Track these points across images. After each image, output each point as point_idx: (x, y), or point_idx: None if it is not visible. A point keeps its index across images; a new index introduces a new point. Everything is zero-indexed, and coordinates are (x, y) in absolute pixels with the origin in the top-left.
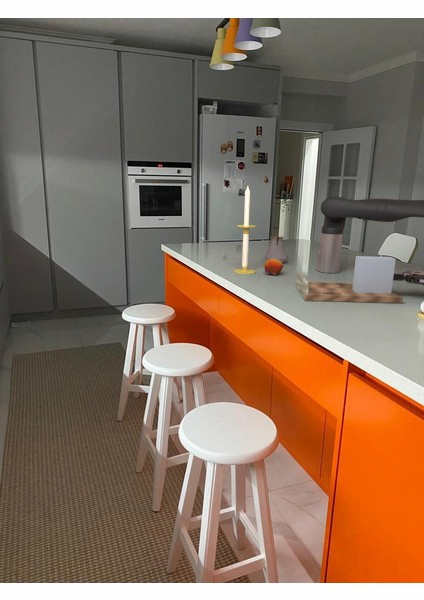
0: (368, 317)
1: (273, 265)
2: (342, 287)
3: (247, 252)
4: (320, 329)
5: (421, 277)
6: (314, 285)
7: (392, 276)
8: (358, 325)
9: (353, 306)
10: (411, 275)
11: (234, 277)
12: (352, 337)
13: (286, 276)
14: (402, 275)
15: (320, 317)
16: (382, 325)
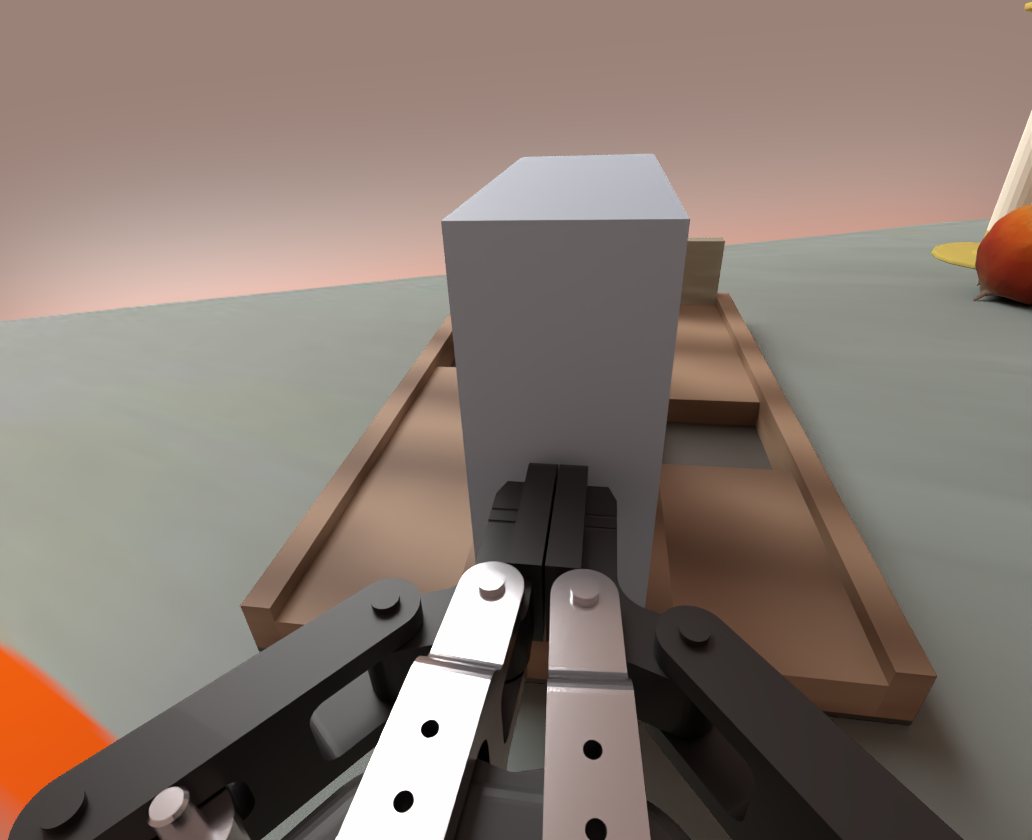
0: (149, 399)
1: (989, 237)
2: (762, 431)
3: (1027, 159)
4: (155, 307)
5: (123, 738)
6: (693, 330)
7: (468, 452)
8: (102, 361)
9: (334, 399)
10: (372, 634)
11: (838, 246)
12: (35, 334)
13: (1014, 322)
14: (511, 567)
15: (253, 318)
16: (27, 407)
